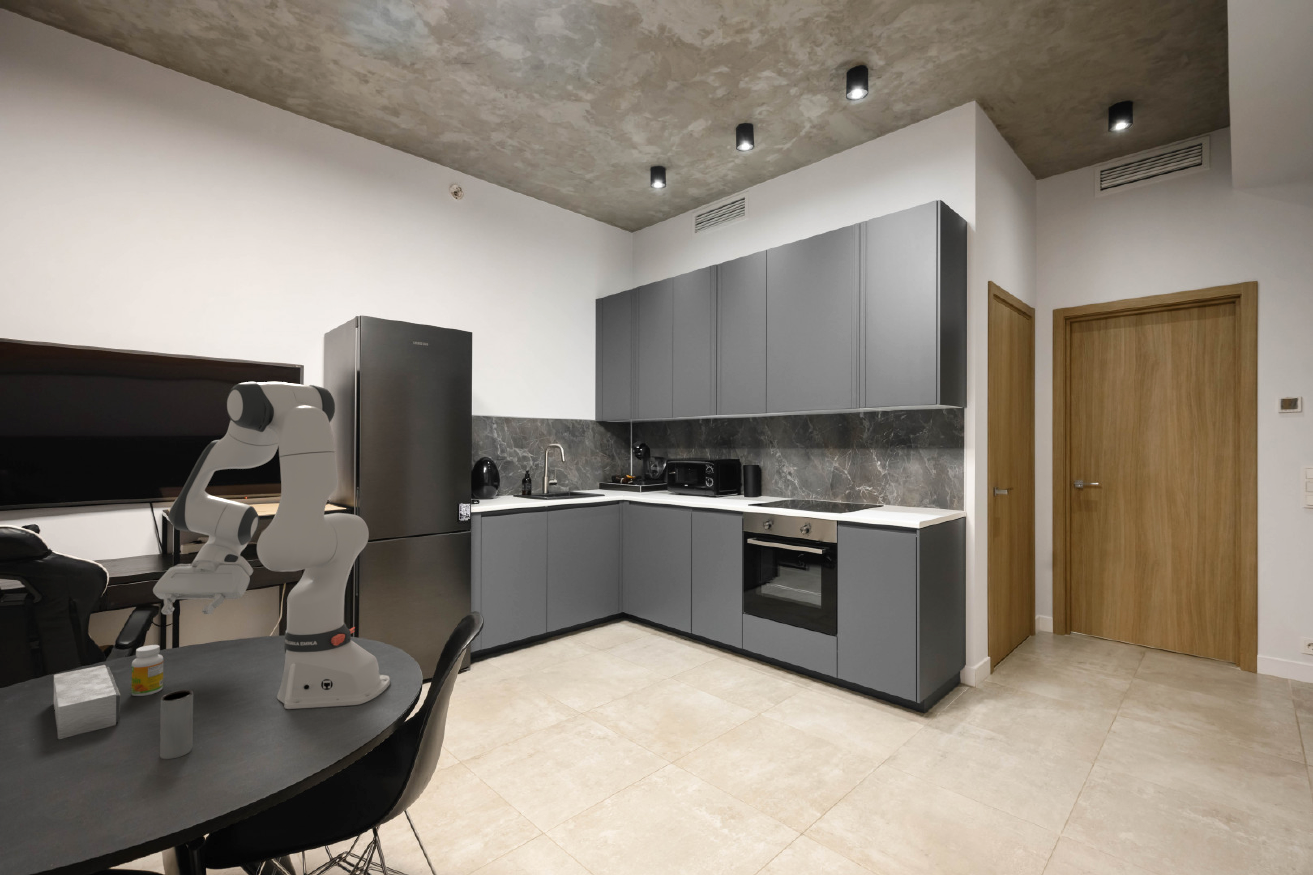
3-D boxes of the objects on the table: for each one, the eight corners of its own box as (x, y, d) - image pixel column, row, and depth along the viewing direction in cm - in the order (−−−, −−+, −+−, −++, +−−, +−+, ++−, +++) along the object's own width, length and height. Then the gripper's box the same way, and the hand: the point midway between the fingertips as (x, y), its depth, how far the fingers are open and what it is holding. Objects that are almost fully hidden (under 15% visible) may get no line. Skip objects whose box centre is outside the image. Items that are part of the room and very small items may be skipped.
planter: (166, 762, 105) (167, 702, 105) (155, 754, 107) (156, 696, 107) (196, 750, 109) (197, 693, 109) (185, 743, 111) (186, 687, 111)
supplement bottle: (125, 694, 132) (126, 649, 132) (153, 685, 137) (154, 642, 137) (140, 698, 130) (141, 653, 130) (168, 688, 135) (169, 645, 135)
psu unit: (121, 723, 119) (122, 692, 119) (58, 739, 112) (58, 707, 112) (110, 690, 134) (110, 663, 134) (53, 703, 127) (53, 674, 127)
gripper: (165, 557, 152) (133, 606, 142) (249, 557, 153) (222, 606, 143) (178, 570, 157) (148, 619, 147) (259, 570, 158) (234, 619, 148)
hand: (185, 613), depth 145 cm, fingers open, 8 cm apart
